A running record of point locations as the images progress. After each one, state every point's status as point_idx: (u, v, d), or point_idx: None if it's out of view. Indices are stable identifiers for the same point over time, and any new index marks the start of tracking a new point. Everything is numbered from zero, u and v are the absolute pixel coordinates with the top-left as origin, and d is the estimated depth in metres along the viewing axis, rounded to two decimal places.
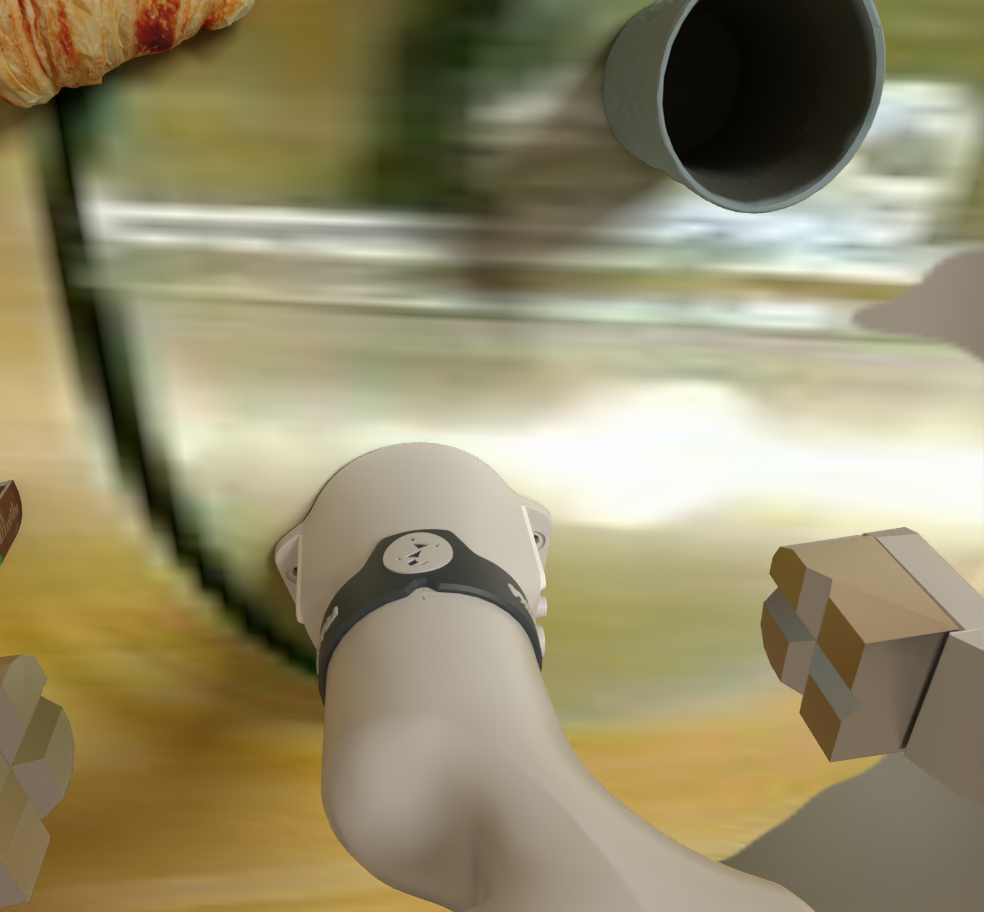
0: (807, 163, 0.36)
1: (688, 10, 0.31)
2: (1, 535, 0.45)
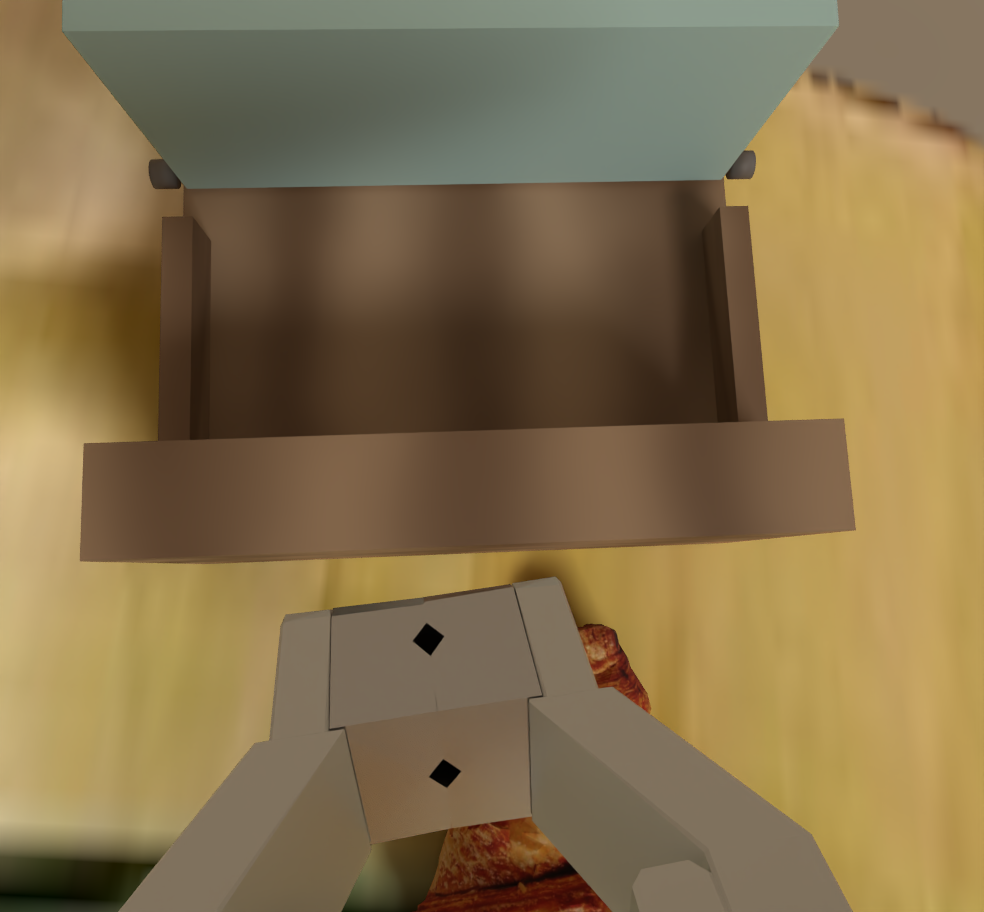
0: None
1: None
2: None
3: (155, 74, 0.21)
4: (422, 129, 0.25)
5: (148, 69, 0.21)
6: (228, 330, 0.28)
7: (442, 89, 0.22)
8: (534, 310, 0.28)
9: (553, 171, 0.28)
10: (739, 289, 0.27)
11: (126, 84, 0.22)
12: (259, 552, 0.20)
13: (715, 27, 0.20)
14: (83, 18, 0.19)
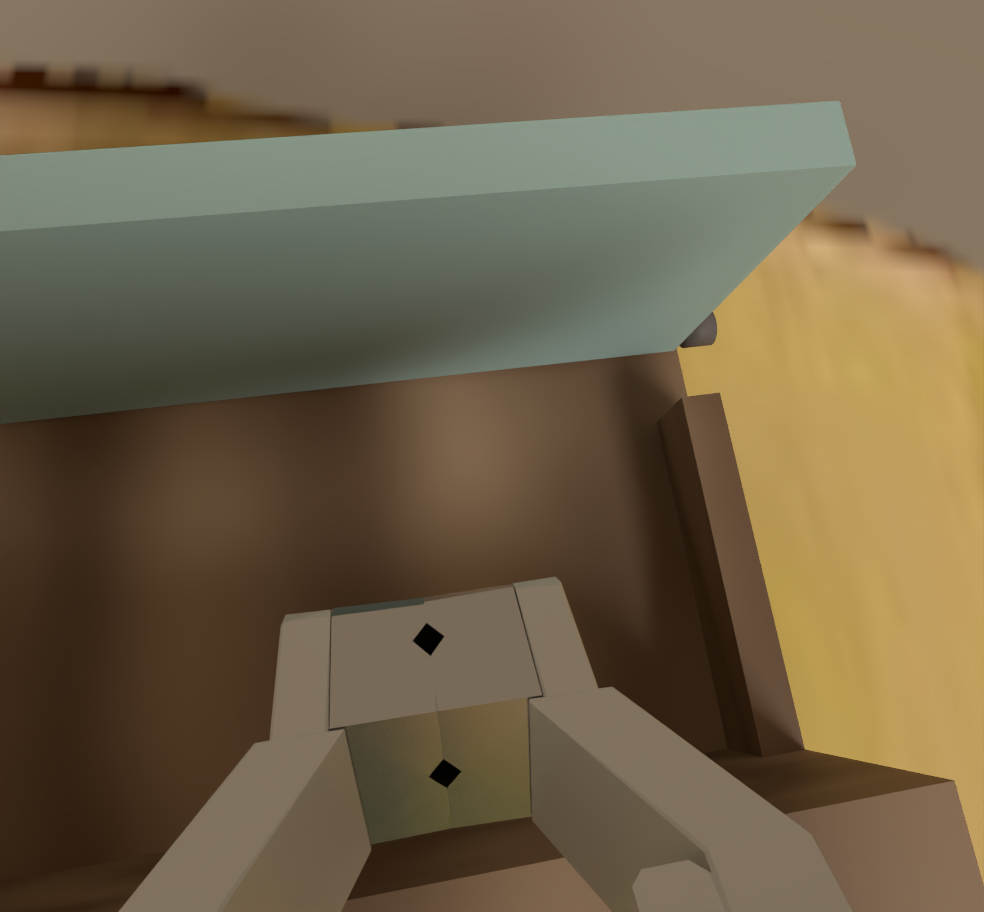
0: None
1: None
2: None
3: None
4: (236, 339, 0.16)
5: None
6: None
7: (248, 291, 0.14)
8: (438, 559, 0.20)
9: (446, 364, 0.20)
10: (725, 513, 0.19)
11: None
12: None
13: (668, 180, 0.13)
14: None
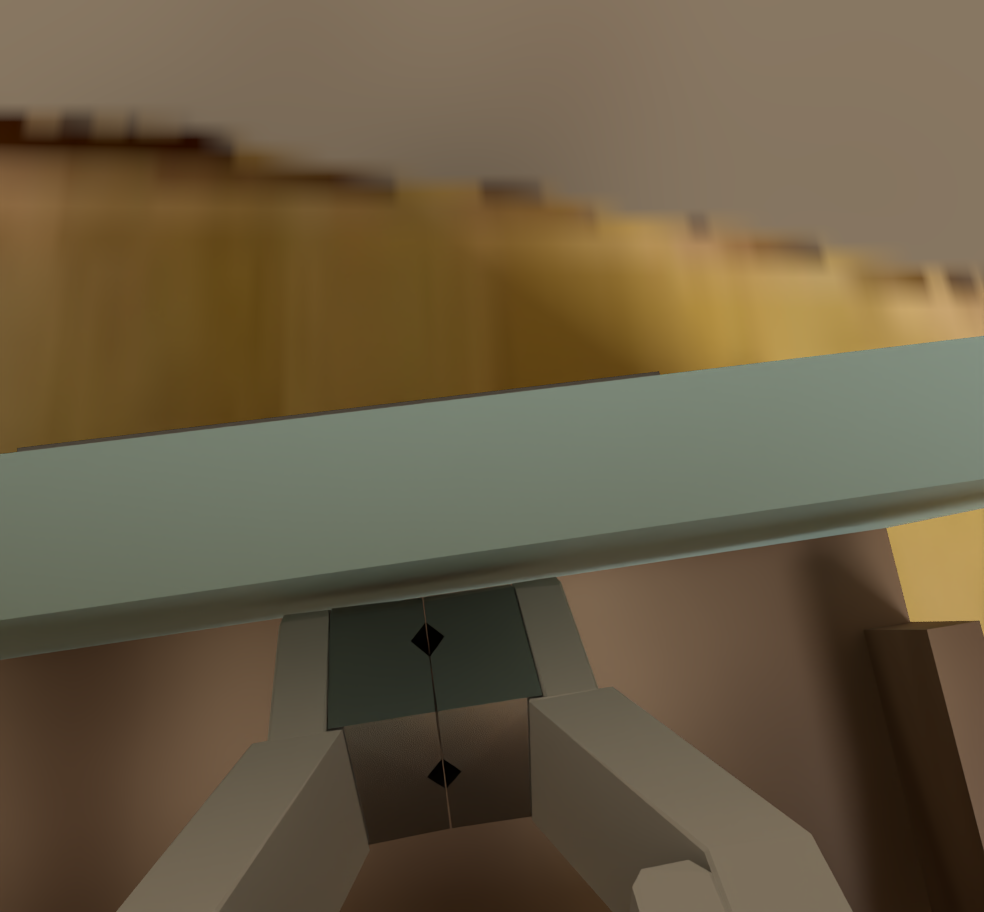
0: None
1: None
2: None
3: None
4: (303, 604, 0.11)
5: None
6: None
7: (336, 591, 0.08)
8: None
9: (584, 571, 0.14)
10: None
11: None
12: None
13: None
14: None
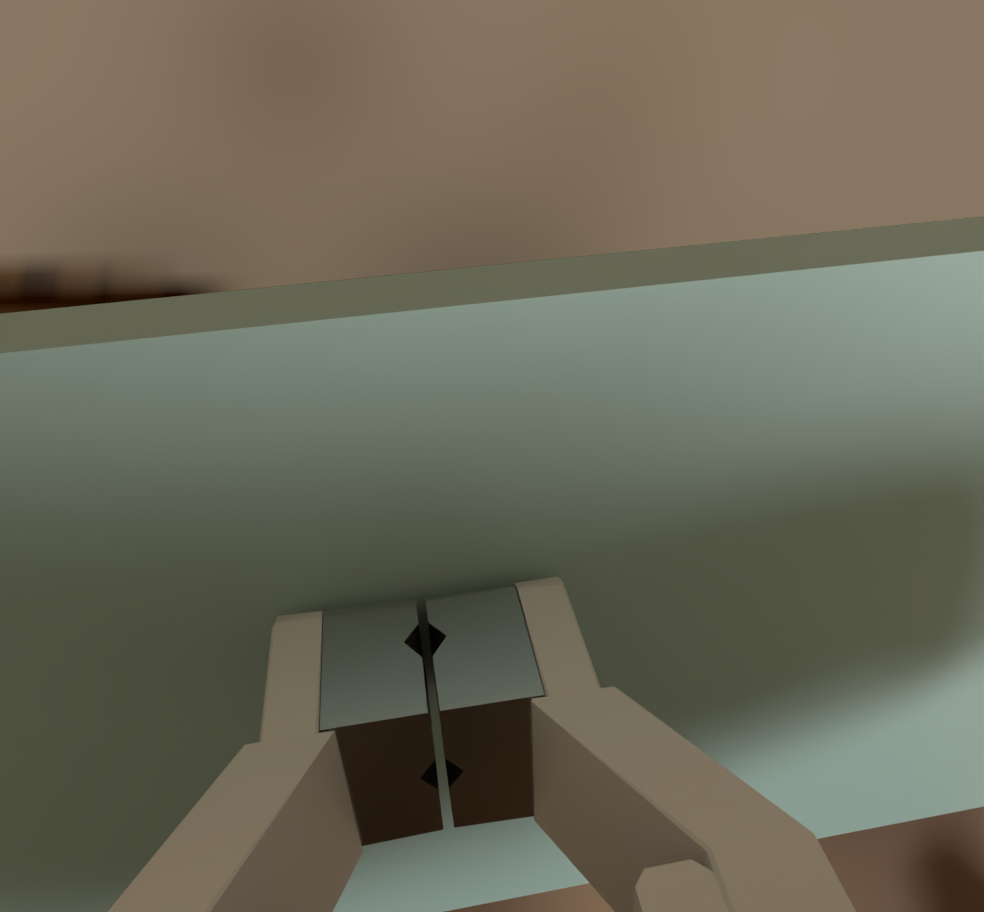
0: None
1: None
2: None
3: None
4: None
5: None
6: None
7: (312, 576, 0.08)
8: None
9: None
10: None
11: None
12: None
13: None
14: None
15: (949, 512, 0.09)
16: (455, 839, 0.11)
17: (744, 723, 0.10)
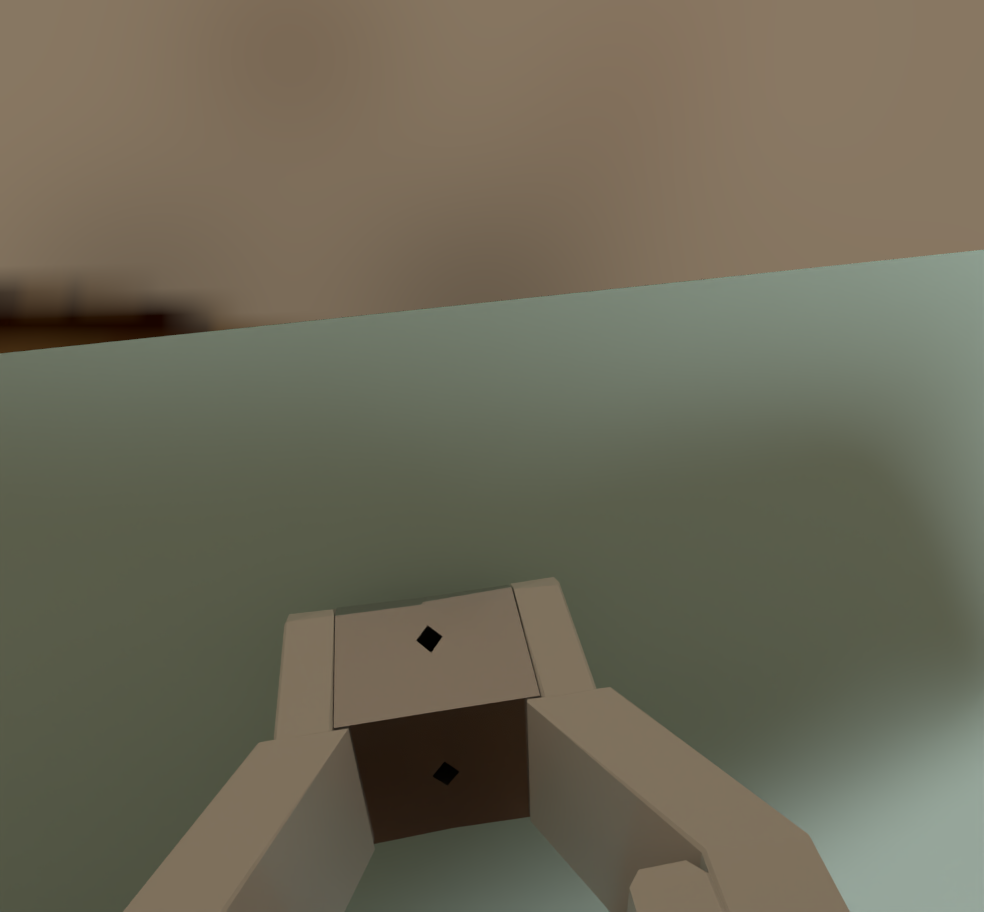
0: None
1: None
2: None
3: None
4: None
5: None
6: None
7: (336, 554, 0.09)
8: None
9: None
10: None
11: None
12: None
13: (868, 271, 0.10)
14: None
15: (919, 502, 0.10)
16: None
17: (786, 764, 0.10)
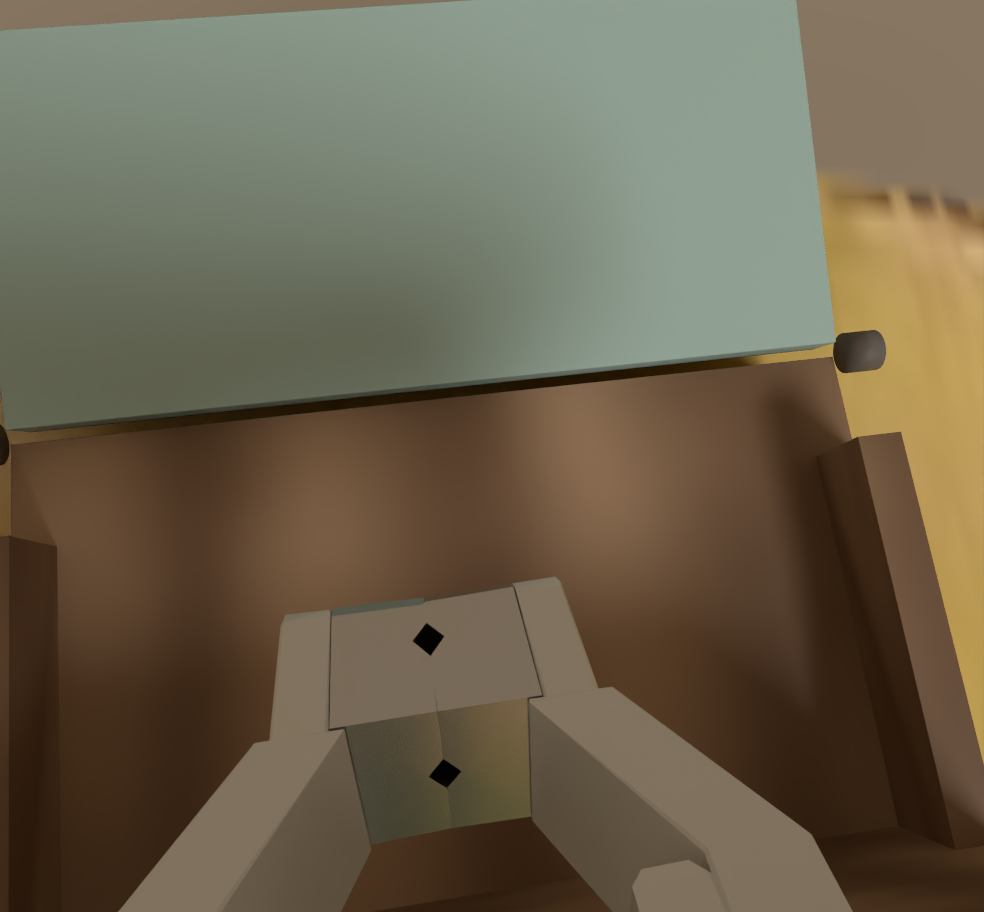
0: None
1: None
2: None
3: (41, 110, 0.18)
4: (370, 218, 0.18)
5: (36, 100, 0.18)
6: (89, 694, 0.17)
7: (388, 121, 0.18)
8: (579, 609, 0.18)
9: (576, 330, 0.19)
10: (909, 570, 0.17)
11: None
12: None
13: None
14: None
15: (693, 114, 0.19)
16: (459, 315, 0.18)
17: (618, 245, 0.19)
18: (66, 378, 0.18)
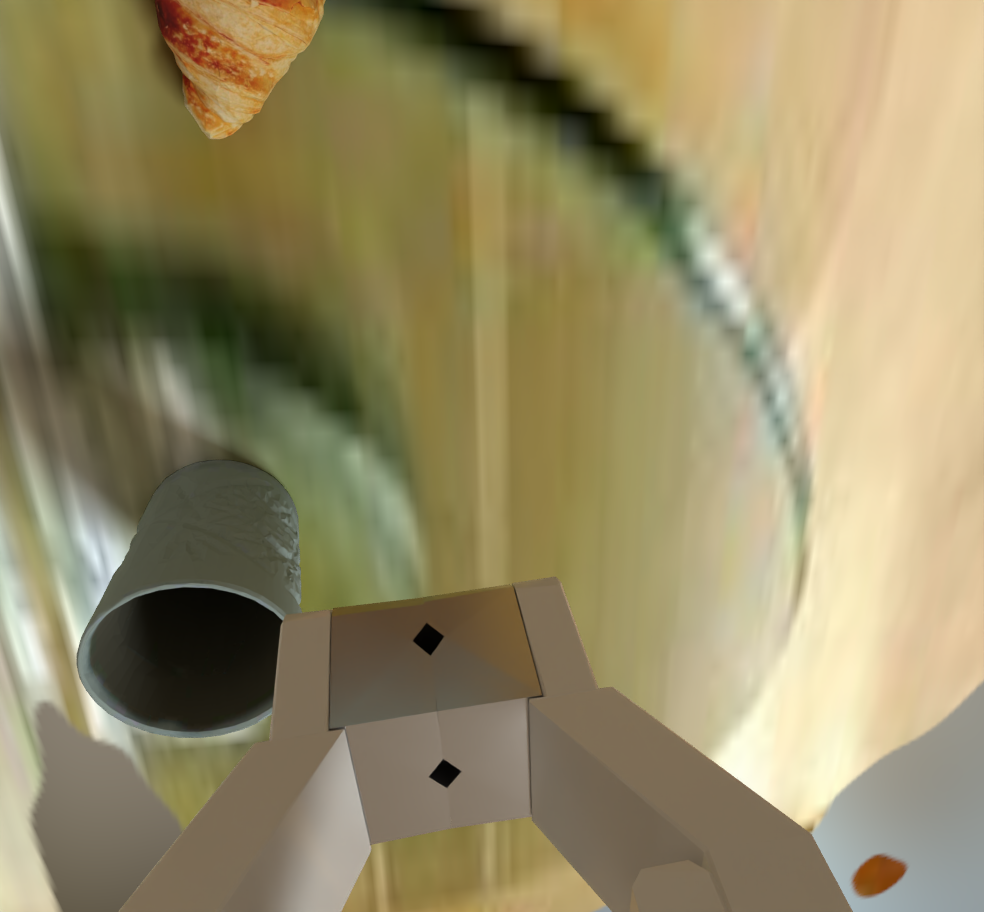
0: (143, 691, 0.39)
1: (242, 594, 0.35)
2: None
3: None
4: None
5: None
6: None
7: None
8: None
9: None
10: None
11: None
12: None
13: None
14: None
15: None
16: None
17: None
18: None
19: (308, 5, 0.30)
